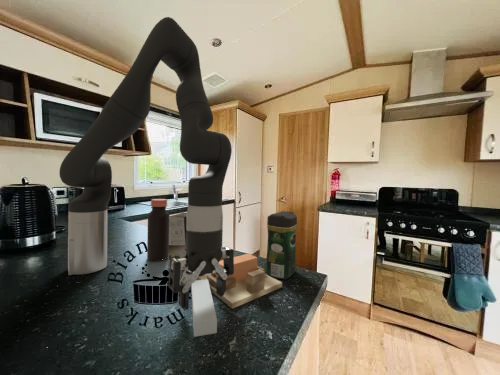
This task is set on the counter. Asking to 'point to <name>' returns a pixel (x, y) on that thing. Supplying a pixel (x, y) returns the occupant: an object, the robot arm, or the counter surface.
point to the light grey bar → (203, 309)
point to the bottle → (158, 231)
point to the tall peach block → (241, 266)
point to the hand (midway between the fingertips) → (203, 301)
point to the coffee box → (177, 237)
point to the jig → (244, 287)
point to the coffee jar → (281, 245)
